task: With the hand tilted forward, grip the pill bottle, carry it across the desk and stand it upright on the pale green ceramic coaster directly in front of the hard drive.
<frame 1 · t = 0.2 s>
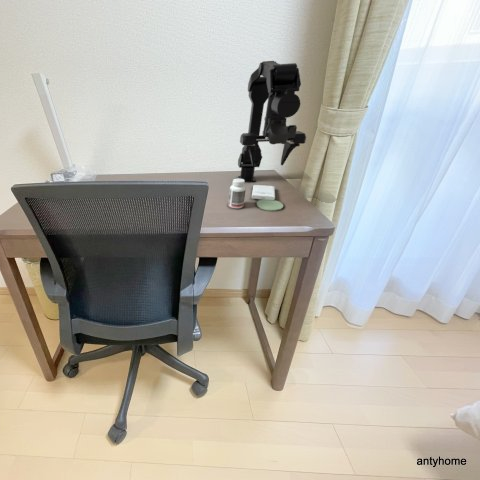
hand: (267, 165, 86), 15 cm above the table, tool pointing down, fingers open, 9 cm apart
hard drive: (262, 194, 101), on the table, touching coaster
pill bottle: (235, 206, 94), on the table
coaster: (269, 205, 93), on the table
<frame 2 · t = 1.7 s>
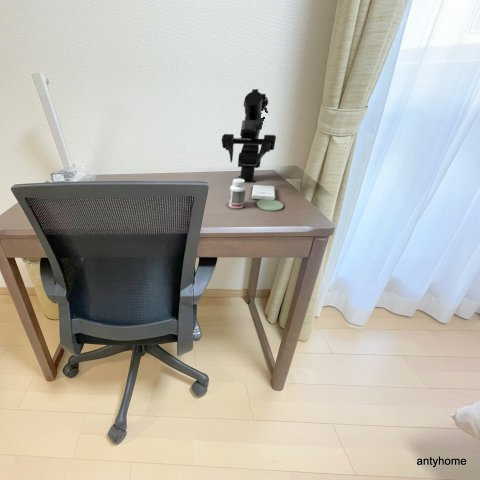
hand: (243, 162, 94), 14 cm above the table, tool tilted 45°, fingers open, 9 cm apart
nothing on the table moved.
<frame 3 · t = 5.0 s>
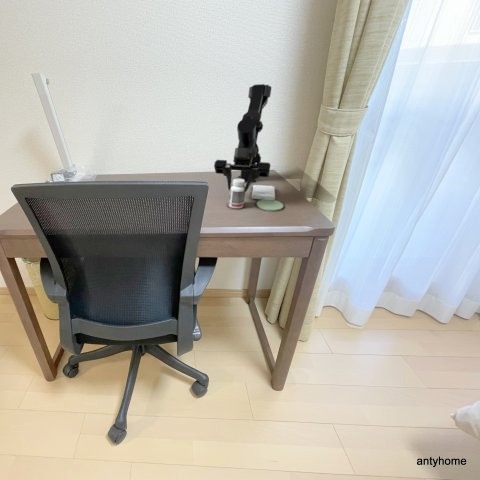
hand: (237, 190, 90), 7 cm above the table, tool tilted 45°, fingers closed on pill bottle, 5 cm apart
pill bottle: (235, 206, 94), on the table, touching gripper
everything else where it was.
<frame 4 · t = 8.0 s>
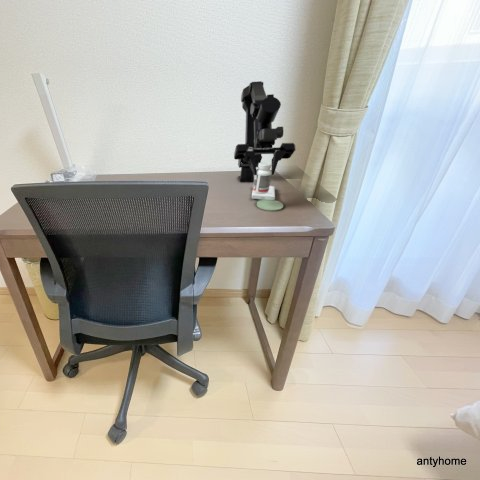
hand: (264, 174, 85), 12 cm above the table, tool tilted 45°, fingers closed on pill bottle, 5 cm apart
pill bottle: (260, 191, 90), point 5 cm above the table, touching gripper
everything else where it was.
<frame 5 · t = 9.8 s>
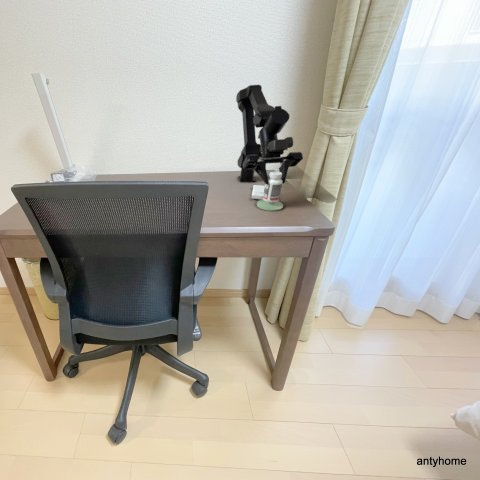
hand: (275, 183, 87), 9 cm above the table, tool tilted 45°, fingers closed on pill bottle, 5 cm apart
pill bottle: (270, 200, 92), point 2 cm above the table, touching gripper
everything else where it was.
when the fingers open (7 cm above the table, at t = 10.8 s): pill bottle stays where it is, resting on coaster.
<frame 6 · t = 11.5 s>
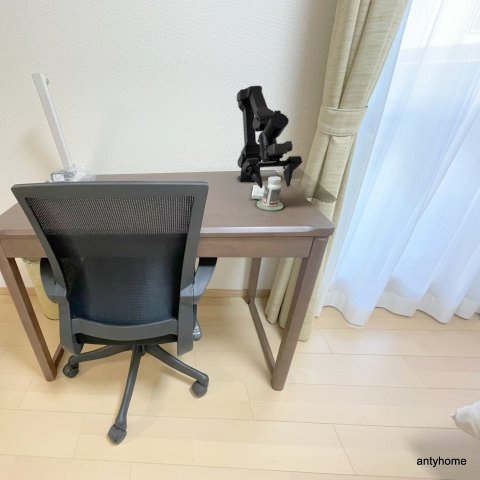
hand: (275, 186, 88), 8 cm above the table, tool tilted 45°, fingers open, 9 cm apart
pill bottle: (269, 204, 93), resting on coaster
everything else where it was.
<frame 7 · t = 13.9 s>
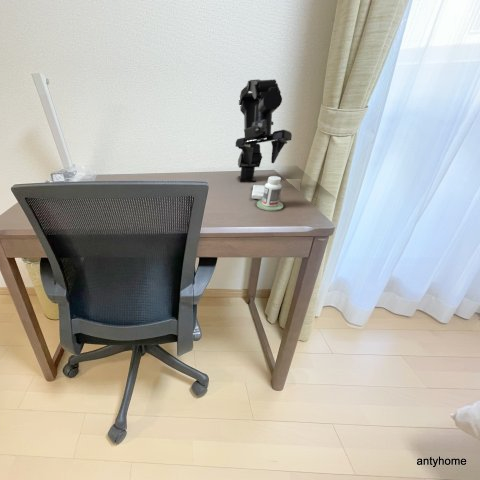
hand: (260, 164, 94), 13 cm above the table, tool tilted 20°, fingers open, 9 cm apart
nothing on the table moved.
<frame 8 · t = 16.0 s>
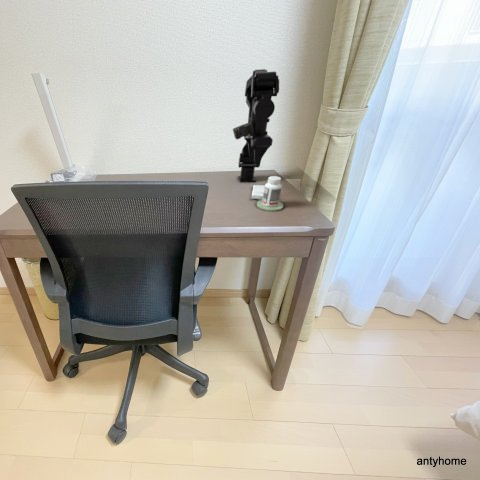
hand: (253, 160, 97), 13 cm above the table, tool pointing down, fingers open, 9 cm apart
nothing on the table moved.
at the end: pill bottle inside the target area on the table beside the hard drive (0.4 cm from its centre), resting on coaster; pill bottle 0.2 cm from the coaster (horizontally); pill bottle tilted 0° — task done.
